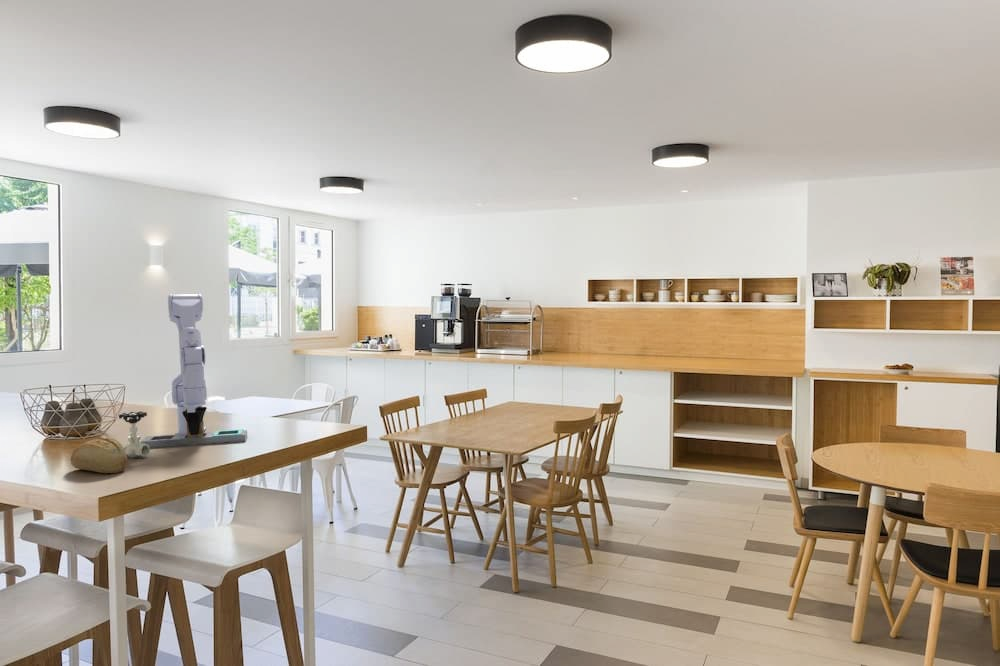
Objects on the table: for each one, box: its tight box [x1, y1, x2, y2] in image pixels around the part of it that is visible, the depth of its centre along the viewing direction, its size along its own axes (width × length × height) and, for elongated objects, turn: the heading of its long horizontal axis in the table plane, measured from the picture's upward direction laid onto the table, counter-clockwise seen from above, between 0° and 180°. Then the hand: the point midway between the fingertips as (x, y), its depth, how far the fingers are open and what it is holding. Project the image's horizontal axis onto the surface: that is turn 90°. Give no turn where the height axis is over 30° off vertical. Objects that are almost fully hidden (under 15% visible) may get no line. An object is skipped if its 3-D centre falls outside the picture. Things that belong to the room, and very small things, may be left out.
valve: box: [118, 410, 151, 459], centre depth 184 cm, size 7×7×12 cm
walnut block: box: [187, 420, 205, 438], centre depth 203 cm, size 4×4×6 cm
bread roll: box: [70, 437, 128, 474], centre depth 171 cm, size 10×15×8 cm, turn 71°
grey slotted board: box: [140, 428, 248, 449], centre depth 203 cm, size 8×28×2 cm, turn 106°
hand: (195, 433), depth 203 cm, fingers closed on walnut block, 4 cm apart
